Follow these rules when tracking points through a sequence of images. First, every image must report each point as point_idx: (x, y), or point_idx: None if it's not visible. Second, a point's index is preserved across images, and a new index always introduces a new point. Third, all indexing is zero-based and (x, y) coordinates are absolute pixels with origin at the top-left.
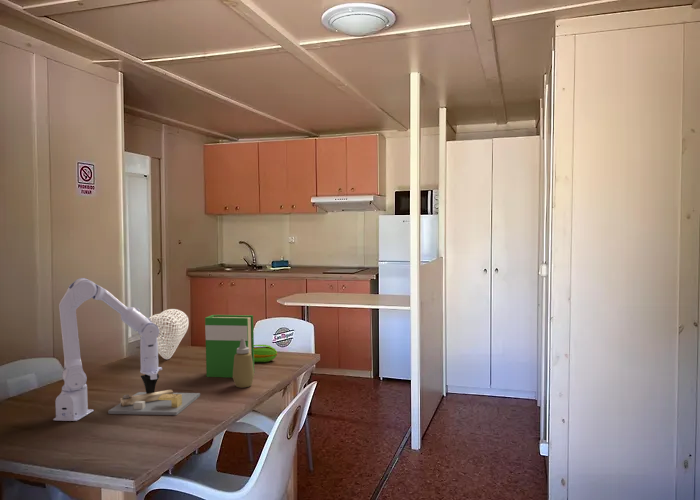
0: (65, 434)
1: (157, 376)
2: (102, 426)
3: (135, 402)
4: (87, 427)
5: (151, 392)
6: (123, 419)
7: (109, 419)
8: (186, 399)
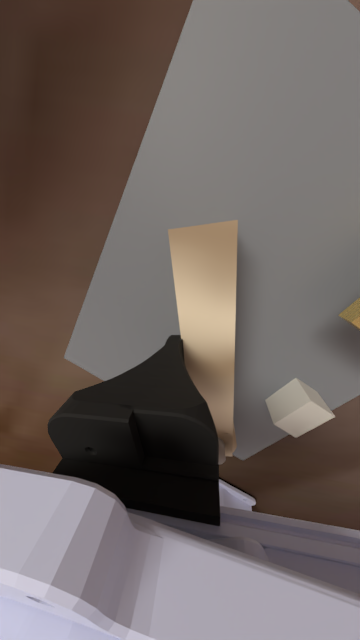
0: (339, 525)
1: (217, 437)
2: (356, 481)
3: (296, 431)
4: (327, 497)
5: (182, 353)
6: (340, 437)
7: (301, 458)
8: (345, 118)
